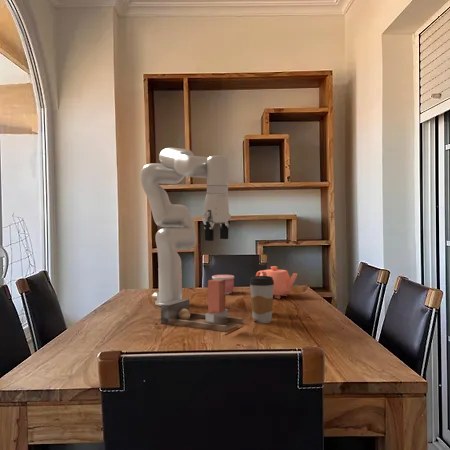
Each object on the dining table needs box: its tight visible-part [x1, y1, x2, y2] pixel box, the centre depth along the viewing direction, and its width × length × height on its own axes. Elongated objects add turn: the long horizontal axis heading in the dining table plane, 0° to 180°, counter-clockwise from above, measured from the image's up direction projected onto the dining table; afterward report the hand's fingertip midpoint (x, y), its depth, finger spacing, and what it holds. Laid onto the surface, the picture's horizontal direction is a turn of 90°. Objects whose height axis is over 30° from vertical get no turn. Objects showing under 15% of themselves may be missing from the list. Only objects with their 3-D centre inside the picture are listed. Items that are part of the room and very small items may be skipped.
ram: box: [204, 279, 229, 325], centre depth 143 cm, size 4×9×14 cm, turn 150°
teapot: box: [255, 265, 298, 300], centre depth 200 cm, size 16×17×14 cm
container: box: [211, 274, 235, 295], centre depth 212 cm, size 10×10×8 cm
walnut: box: [178, 309, 191, 320], centre depth 150 cm, size 4×4×4 cm
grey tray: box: [160, 298, 244, 336], centre depth 146 cm, size 24×12×7 cm, turn 60°
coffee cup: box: [249, 275, 274, 324], centre depth 153 cm, size 8×8×15 cm
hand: (216, 239), depth 159 cm, fingers open, 9 cm apart
